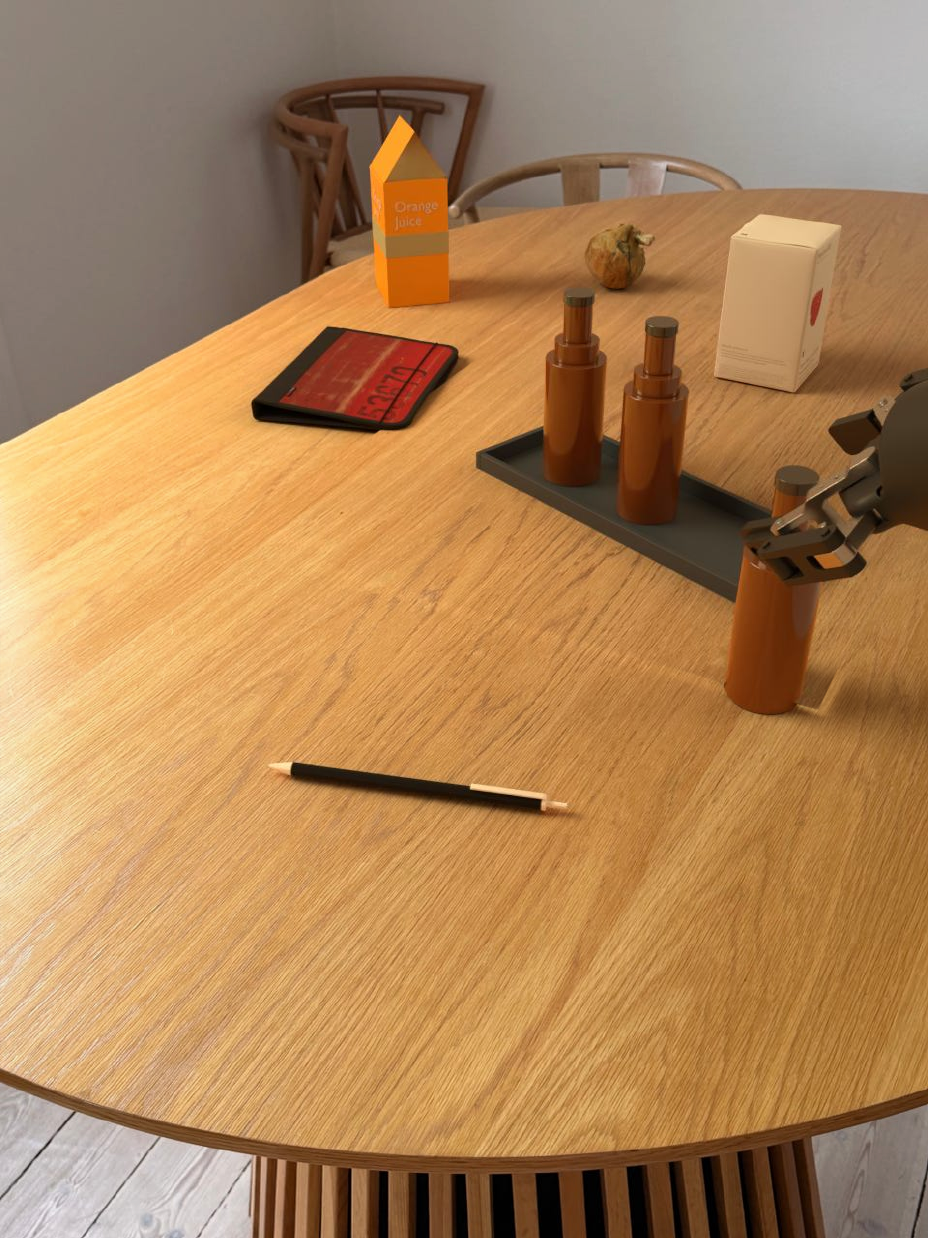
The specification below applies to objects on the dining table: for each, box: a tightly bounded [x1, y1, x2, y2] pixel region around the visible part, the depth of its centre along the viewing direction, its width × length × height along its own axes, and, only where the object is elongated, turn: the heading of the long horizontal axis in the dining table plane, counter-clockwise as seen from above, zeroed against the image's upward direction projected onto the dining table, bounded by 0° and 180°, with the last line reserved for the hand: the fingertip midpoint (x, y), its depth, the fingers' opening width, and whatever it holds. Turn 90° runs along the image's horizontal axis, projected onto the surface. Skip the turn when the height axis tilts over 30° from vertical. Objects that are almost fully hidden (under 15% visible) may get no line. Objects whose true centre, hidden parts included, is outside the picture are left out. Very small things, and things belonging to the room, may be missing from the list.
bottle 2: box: [615, 315, 690, 525], centre depth 98 cm, size 5×5×17 cm
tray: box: [475, 425, 772, 605], centre depth 103 cm, size 31×11×2 cm, turn 41°
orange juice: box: [368, 115, 450, 309], centre depth 144 cm, size 8×9×20 cm
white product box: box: [713, 213, 842, 393], centre depth 124 cm, size 9×9×15 cm
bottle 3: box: [723, 464, 824, 715], centre depth 79 cm, size 5×5×17 cm
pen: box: [265, 761, 568, 812], centre depth 75 cm, size 1×19×1 cm, turn 78°
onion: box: [583, 222, 656, 290], centre depth 149 cm, size 8×8×8 cm
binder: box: [250, 325, 460, 431], centre depth 126 cm, size 16×2×21 cm
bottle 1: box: [542, 286, 608, 487], centre depth 104 cm, size 5×5×17 cm
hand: (797, 488), depth 69 cm, fingers open, 8 cm apart
